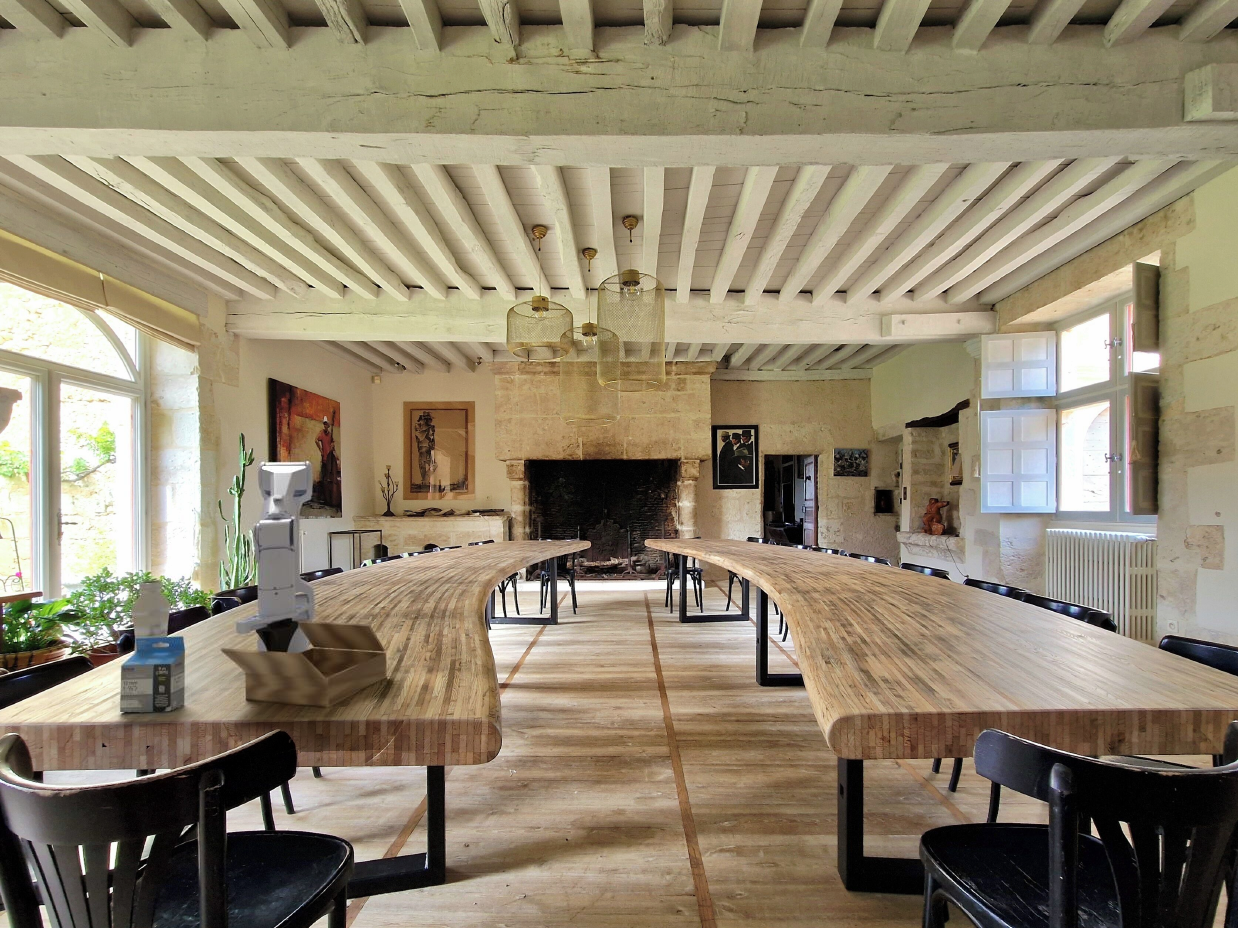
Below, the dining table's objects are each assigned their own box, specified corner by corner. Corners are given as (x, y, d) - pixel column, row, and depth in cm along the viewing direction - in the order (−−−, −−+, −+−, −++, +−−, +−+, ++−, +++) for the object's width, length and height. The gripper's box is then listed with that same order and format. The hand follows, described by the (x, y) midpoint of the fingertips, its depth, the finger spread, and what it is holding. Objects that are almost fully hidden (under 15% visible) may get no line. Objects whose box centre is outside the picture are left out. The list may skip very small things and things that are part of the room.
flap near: (248, 671, 109) (246, 673, 109) (222, 648, 104) (220, 650, 104) (325, 677, 104) (324, 679, 104) (301, 653, 100) (300, 655, 99)
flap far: (296, 622, 120) (297, 620, 120) (313, 647, 124) (314, 645, 124) (368, 625, 115) (369, 624, 116) (383, 651, 119) (384, 649, 120)
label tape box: (118, 714, 104) (118, 643, 104) (136, 705, 108) (136, 637, 108) (170, 712, 104) (170, 641, 104) (186, 703, 108) (186, 635, 108)
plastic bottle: (132, 687, 117) (131, 585, 118) (130, 679, 122) (129, 582, 123) (173, 679, 122) (172, 581, 122) (169, 672, 127) (168, 578, 127)
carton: (245, 699, 109) (245, 672, 109) (313, 671, 124) (312, 647, 124) (327, 707, 104) (326, 678, 104) (386, 677, 119) (386, 652, 119)
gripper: (259, 596, 97) (260, 679, 97) (326, 580, 111) (327, 653, 111) (225, 594, 99) (226, 676, 99) (295, 579, 113) (296, 651, 113)
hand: (277, 664), depth 105 cm, fingers closed, pressing on flap near
